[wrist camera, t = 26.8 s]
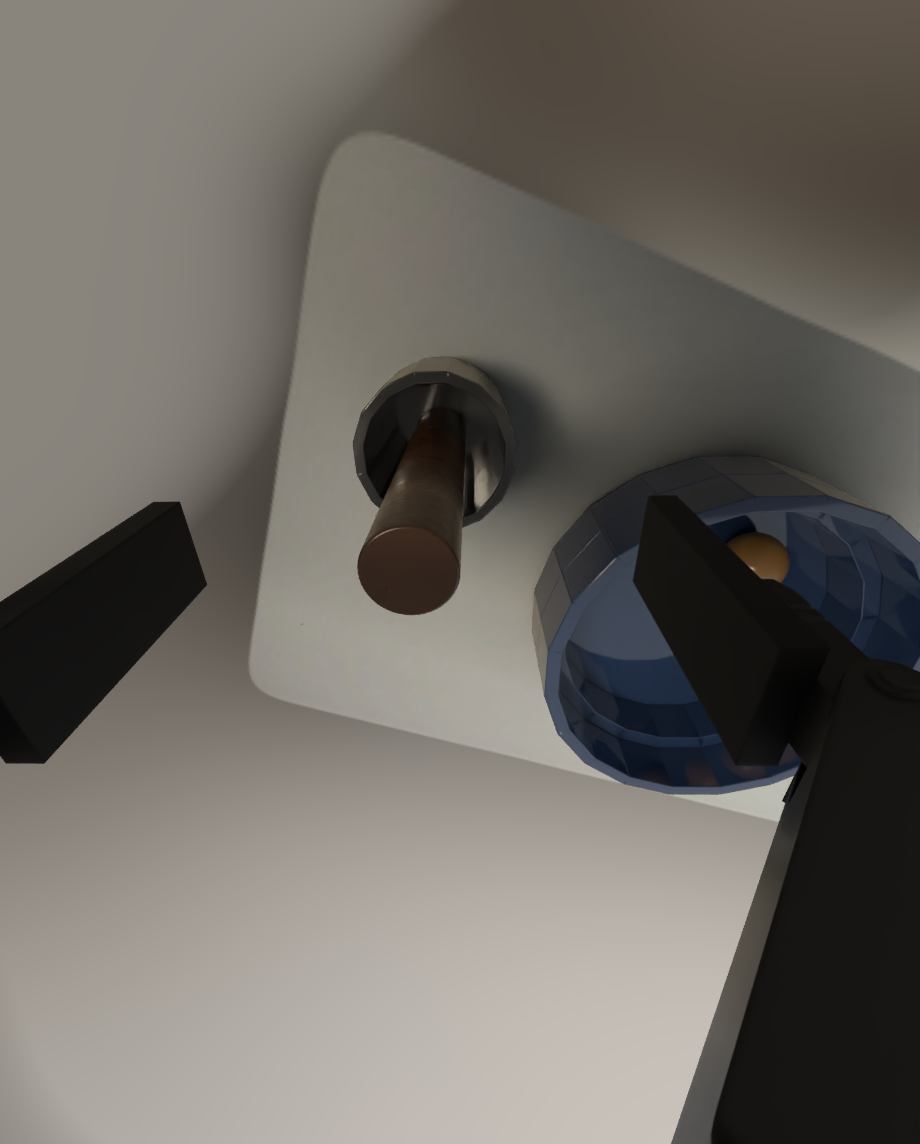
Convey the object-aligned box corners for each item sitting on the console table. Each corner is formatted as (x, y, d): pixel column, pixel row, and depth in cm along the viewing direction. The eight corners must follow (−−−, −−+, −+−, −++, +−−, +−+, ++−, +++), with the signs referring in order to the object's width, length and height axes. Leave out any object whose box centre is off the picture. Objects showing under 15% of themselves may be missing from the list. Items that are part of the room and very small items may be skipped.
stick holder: (369, 358, 26) (343, 373, 21) (509, 355, 26) (518, 369, 20) (383, 491, 29) (363, 532, 24) (505, 489, 29) (513, 531, 24)
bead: (707, 531, 30) (757, 521, 27) (753, 542, 31) (807, 534, 27) (701, 588, 30) (752, 586, 26) (748, 598, 31) (803, 597, 27)
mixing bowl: (541, 456, 28) (560, 499, 22) (905, 450, 28) (1029, 493, 21) (525, 715, 38) (535, 794, 32) (792, 715, 38) (855, 795, 31)
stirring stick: (414, 407, 26) (350, 526, 12) (465, 406, 26) (458, 525, 12) (417, 458, 28) (363, 616, 14) (466, 457, 28) (461, 616, 14)
